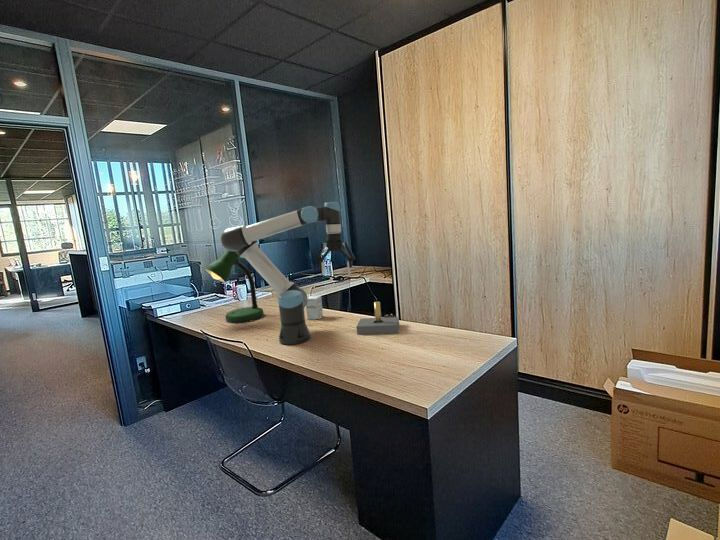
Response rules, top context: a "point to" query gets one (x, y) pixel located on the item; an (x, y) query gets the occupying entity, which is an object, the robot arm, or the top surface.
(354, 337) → the top surface
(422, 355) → the top surface
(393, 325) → the bore block
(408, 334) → the top surface
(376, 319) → the brass pin
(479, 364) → the top surface
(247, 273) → the desk lamp
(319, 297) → the supplement box
